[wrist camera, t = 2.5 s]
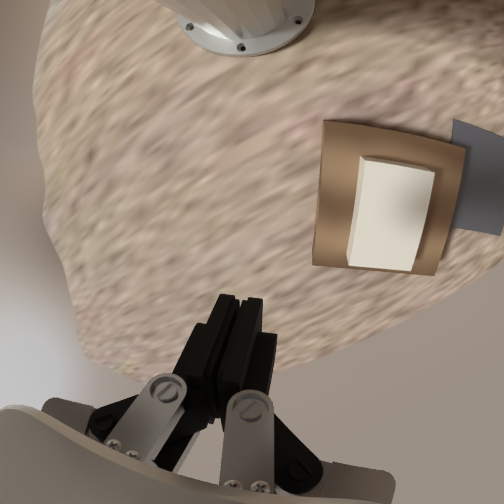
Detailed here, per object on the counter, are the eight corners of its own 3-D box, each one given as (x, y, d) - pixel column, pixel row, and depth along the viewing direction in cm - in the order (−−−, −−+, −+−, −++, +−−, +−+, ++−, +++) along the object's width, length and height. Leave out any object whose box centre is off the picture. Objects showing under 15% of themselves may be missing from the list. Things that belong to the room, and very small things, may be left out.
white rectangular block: (360, 155, 20) (365, 160, 19) (425, 167, 19) (434, 172, 18) (346, 254, 25) (348, 265, 23) (405, 259, 24) (410, 271, 22)
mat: (453, 119, 19) (454, 119, 19) (518, 144, 17) (519, 145, 17) (436, 223, 24) (437, 224, 24) (499, 234, 23) (500, 235, 22)
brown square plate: (323, 119, 22) (325, 121, 19) (450, 143, 20) (465, 148, 17) (312, 249, 28) (312, 265, 26) (425, 260, 26) (434, 275, 24)
